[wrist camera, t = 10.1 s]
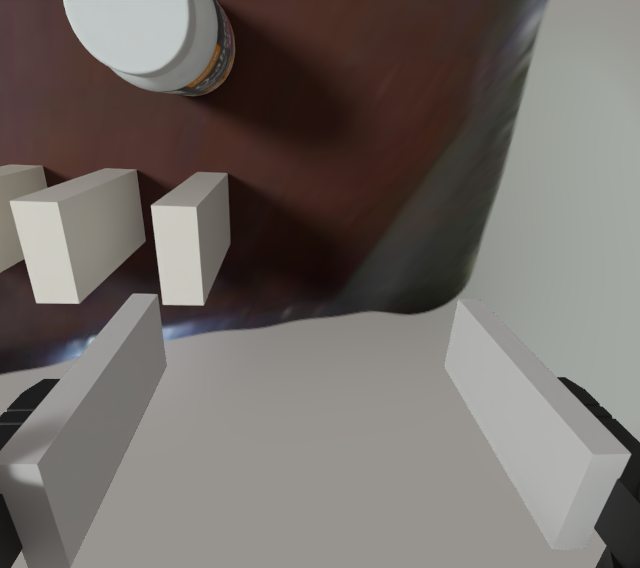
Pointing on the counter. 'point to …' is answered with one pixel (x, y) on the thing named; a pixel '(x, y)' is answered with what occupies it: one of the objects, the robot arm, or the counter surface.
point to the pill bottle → (158, 41)
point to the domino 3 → (191, 237)
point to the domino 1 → (5, 185)
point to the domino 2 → (79, 232)
